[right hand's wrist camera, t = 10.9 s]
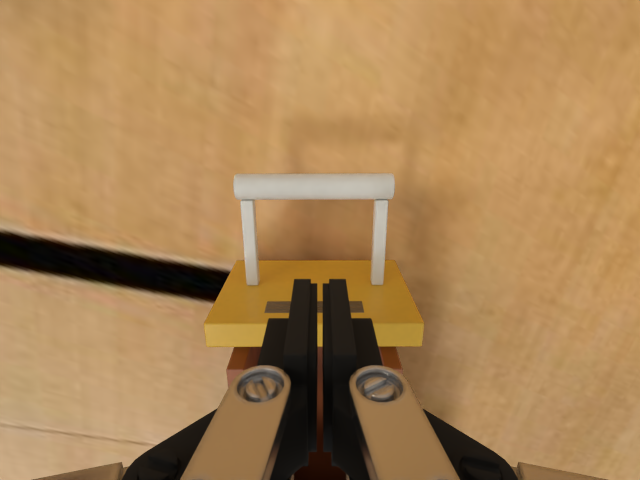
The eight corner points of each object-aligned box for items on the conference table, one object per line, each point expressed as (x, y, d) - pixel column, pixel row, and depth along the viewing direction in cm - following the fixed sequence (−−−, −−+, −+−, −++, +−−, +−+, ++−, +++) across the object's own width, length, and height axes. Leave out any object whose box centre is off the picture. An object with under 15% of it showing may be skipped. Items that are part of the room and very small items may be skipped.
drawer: (228, 163, 20) (186, 192, 14) (401, 163, 20) (439, 191, 14) (256, 501, 29) (239, 613, 23) (378, 501, 29) (394, 613, 23)
